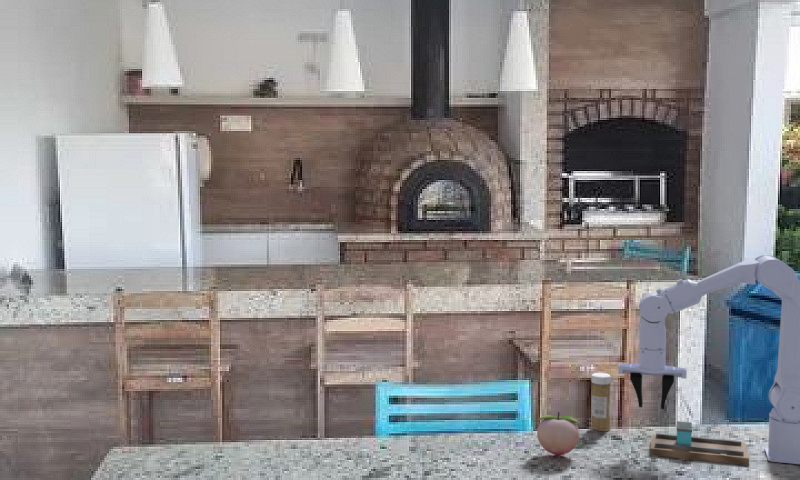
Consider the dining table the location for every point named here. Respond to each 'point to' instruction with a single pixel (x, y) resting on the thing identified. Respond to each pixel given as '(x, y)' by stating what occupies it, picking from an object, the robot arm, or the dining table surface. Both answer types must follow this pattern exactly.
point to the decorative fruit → (558, 434)
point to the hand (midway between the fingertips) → (651, 406)
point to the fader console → (700, 449)
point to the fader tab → (684, 433)
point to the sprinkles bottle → (601, 401)
